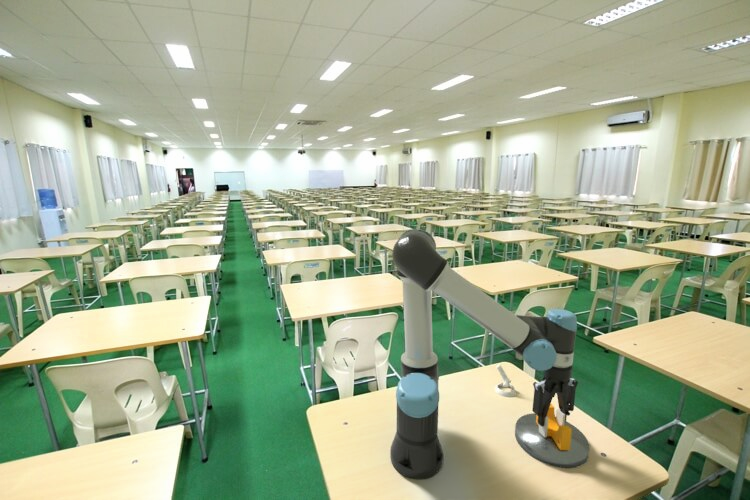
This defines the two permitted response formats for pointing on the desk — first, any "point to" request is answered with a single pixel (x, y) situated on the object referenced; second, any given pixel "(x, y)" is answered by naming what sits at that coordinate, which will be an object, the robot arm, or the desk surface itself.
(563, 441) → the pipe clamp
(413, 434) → the robot arm
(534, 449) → the dark grey flat disc
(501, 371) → the white ring with handle
